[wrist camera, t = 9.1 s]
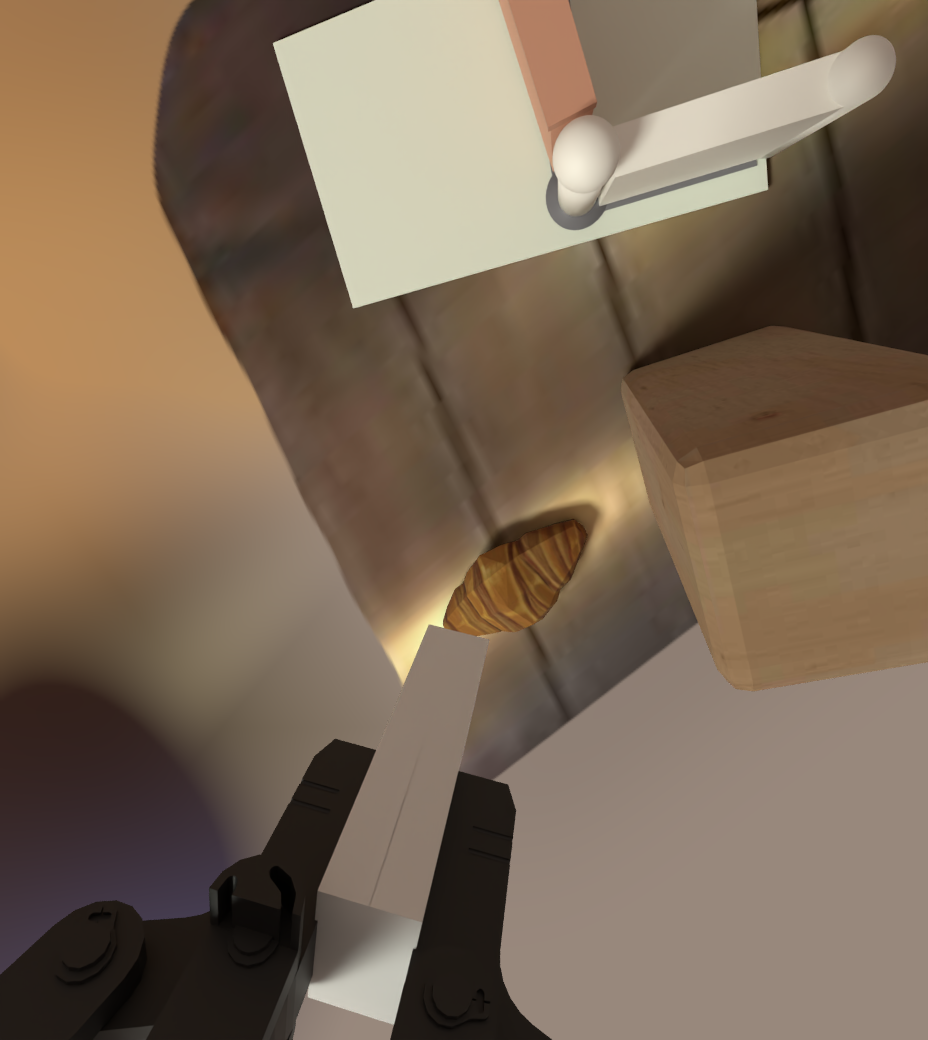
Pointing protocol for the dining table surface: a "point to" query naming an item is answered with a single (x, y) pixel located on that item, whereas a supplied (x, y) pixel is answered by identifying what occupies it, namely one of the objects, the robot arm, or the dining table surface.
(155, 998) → the robot arm
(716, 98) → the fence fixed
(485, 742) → the dining table surface
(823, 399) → the wooden block
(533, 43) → the terracotta rectangular slab
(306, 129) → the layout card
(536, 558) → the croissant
